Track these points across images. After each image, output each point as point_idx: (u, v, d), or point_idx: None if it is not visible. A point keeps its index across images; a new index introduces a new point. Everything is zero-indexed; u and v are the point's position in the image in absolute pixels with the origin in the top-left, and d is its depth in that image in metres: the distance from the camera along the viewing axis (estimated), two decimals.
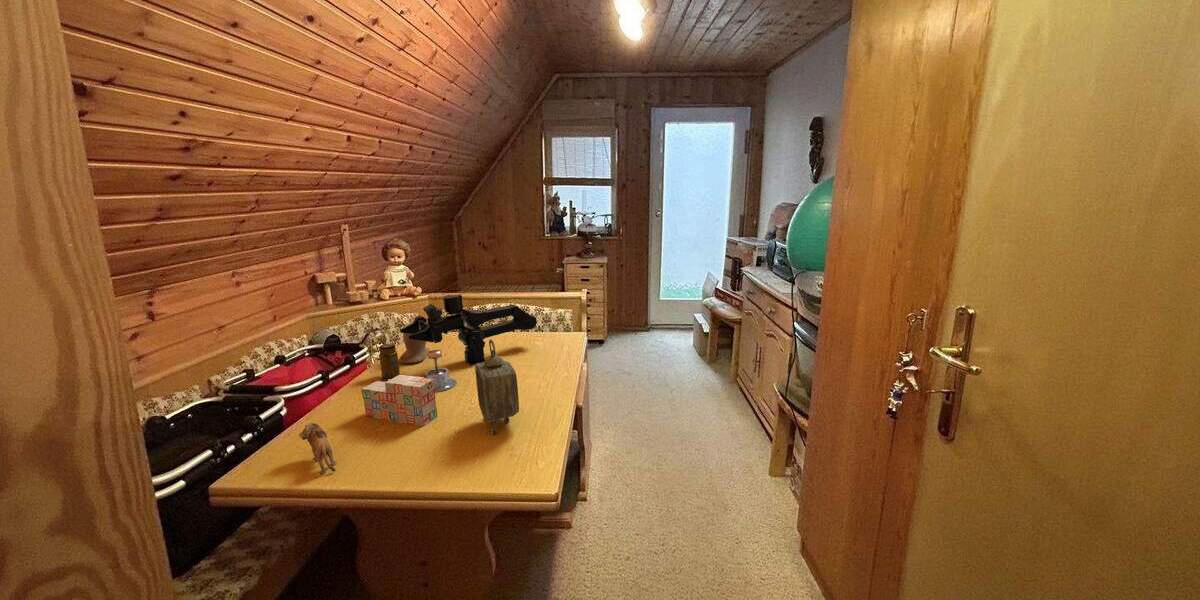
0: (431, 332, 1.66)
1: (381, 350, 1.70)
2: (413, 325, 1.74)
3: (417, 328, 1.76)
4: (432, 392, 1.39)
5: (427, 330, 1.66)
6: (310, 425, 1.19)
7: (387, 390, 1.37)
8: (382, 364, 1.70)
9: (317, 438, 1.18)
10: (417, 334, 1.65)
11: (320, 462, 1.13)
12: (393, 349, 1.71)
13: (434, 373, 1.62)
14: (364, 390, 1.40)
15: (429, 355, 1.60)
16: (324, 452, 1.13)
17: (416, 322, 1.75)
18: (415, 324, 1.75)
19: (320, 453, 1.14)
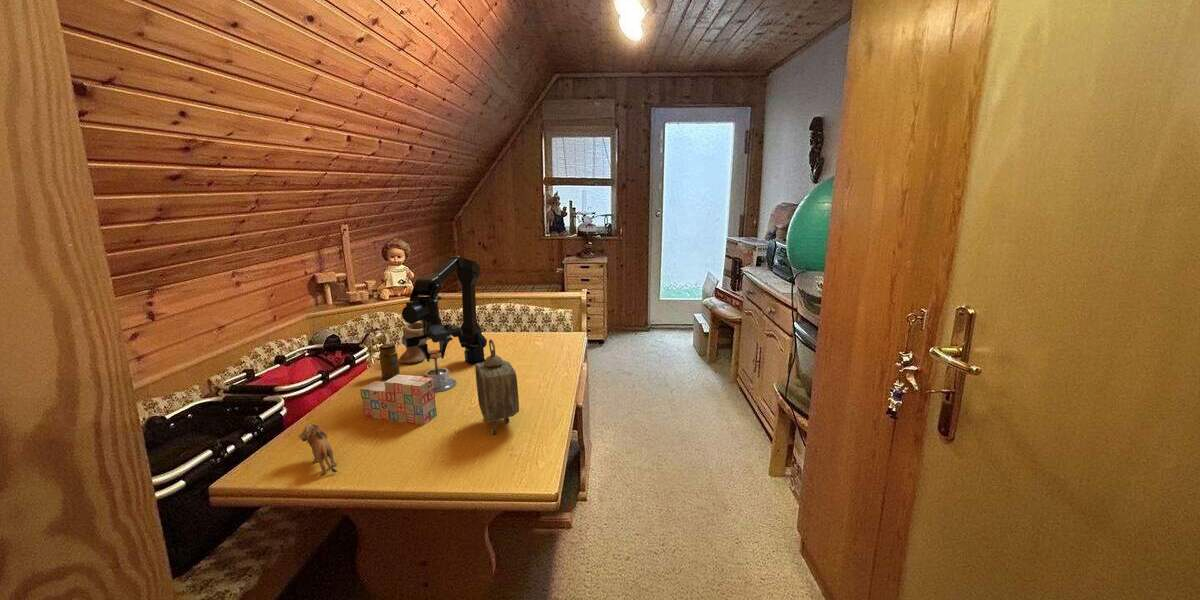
0: None
1: (381, 350, 1.70)
2: None
3: None
4: (432, 391, 1.39)
5: None
6: (310, 426, 1.19)
7: (386, 390, 1.37)
8: (382, 364, 1.70)
9: (317, 439, 1.17)
10: None
11: (321, 463, 1.13)
12: (393, 349, 1.71)
13: (434, 373, 1.62)
14: (363, 390, 1.40)
15: (429, 355, 1.60)
16: (325, 453, 1.13)
17: None
18: None
19: (321, 454, 1.13)
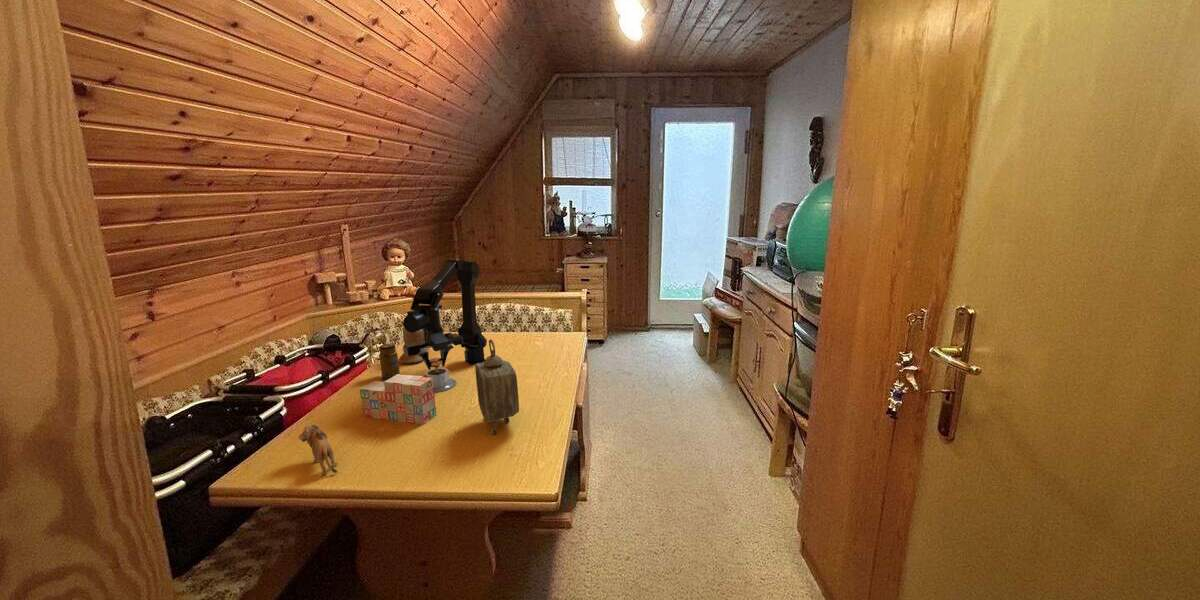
0: None
1: (381, 350, 1.70)
2: None
3: None
4: (431, 391, 1.39)
5: None
6: (310, 427, 1.19)
7: (386, 389, 1.38)
8: (382, 364, 1.70)
9: (317, 439, 1.17)
10: None
11: (321, 464, 1.13)
12: (393, 349, 1.71)
13: None
14: (362, 390, 1.40)
15: (430, 363, 1.61)
16: (325, 454, 1.13)
17: None
18: None
19: (321, 455, 1.13)
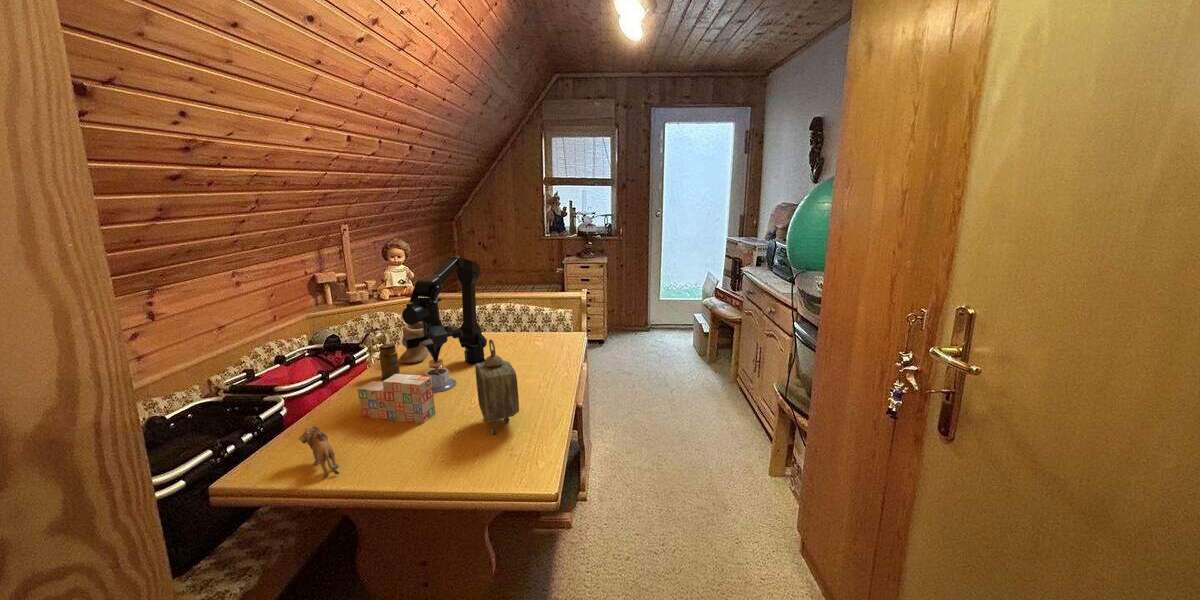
0: None
1: (381, 350, 1.70)
2: None
3: None
4: (430, 390, 1.40)
5: None
6: (311, 428, 1.18)
7: (385, 389, 1.38)
8: (382, 364, 1.70)
9: (318, 441, 1.16)
10: None
11: (323, 465, 1.12)
12: (393, 349, 1.71)
13: None
14: (360, 390, 1.40)
15: (430, 364, 1.61)
16: (327, 455, 1.12)
17: None
18: None
19: (323, 456, 1.12)
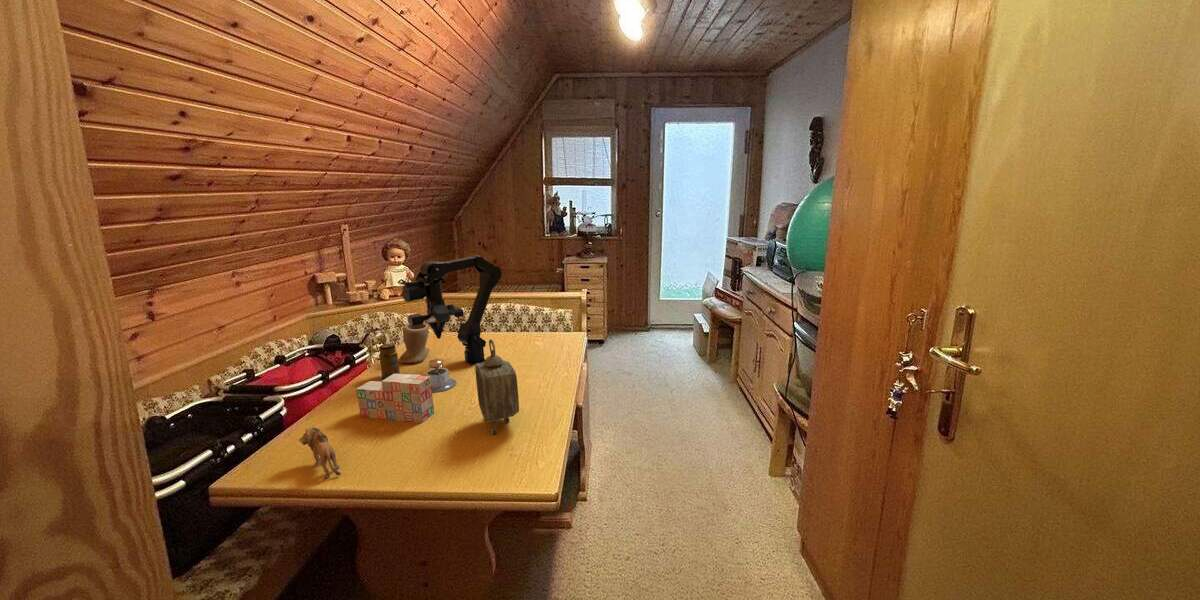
0: None
1: (381, 350, 1.70)
2: None
3: None
4: (429, 389, 1.41)
5: None
6: (311, 429, 1.17)
7: (384, 389, 1.38)
8: (382, 364, 1.70)
9: (319, 442, 1.16)
10: None
11: (324, 466, 1.12)
12: (393, 349, 1.71)
13: None
14: (359, 390, 1.40)
15: (430, 364, 1.61)
16: (328, 456, 1.12)
17: None
18: None
19: (324, 457, 1.12)
